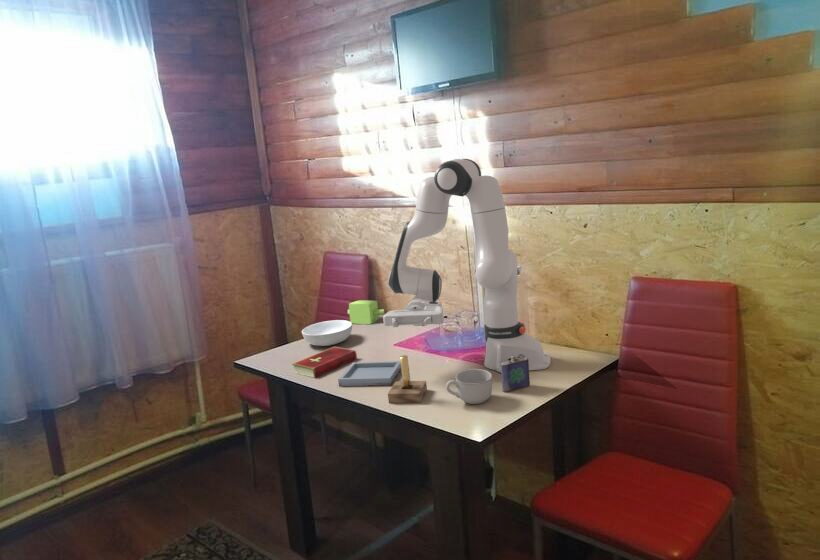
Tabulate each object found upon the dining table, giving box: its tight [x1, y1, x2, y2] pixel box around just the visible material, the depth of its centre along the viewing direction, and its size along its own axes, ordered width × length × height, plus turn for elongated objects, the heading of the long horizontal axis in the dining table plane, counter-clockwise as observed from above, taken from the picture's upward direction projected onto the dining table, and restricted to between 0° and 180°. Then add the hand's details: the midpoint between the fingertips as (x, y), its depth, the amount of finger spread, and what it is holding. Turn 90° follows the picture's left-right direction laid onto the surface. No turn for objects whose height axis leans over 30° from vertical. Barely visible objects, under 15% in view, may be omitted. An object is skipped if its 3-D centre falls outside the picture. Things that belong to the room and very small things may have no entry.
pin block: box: [387, 380, 428, 404], centre depth 192 cm, size 10×10×3 cm
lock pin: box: [399, 354, 412, 389], centre depth 191 cm, size 2×2×13 cm
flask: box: [500, 354, 531, 393], centre depth 188 cm, size 9×3×11 cm, turn 110°
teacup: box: [445, 368, 493, 405], centre depth 183 cm, size 14×11×8 cm
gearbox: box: [347, 299, 385, 325], centre depth 283 cm, size 18×10×10 cm, turn 66°
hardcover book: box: [291, 345, 358, 379], centre depth 229 cm, size 12×21×4 cm, turn 139°
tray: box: [337, 360, 401, 387], centre depth 212 cm, size 18×16×2 cm
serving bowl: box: [301, 319, 353, 347], centre depth 257 cm, size 21×21×7 cm
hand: (409, 324), depth 199 cm, fingers open, 8 cm apart
